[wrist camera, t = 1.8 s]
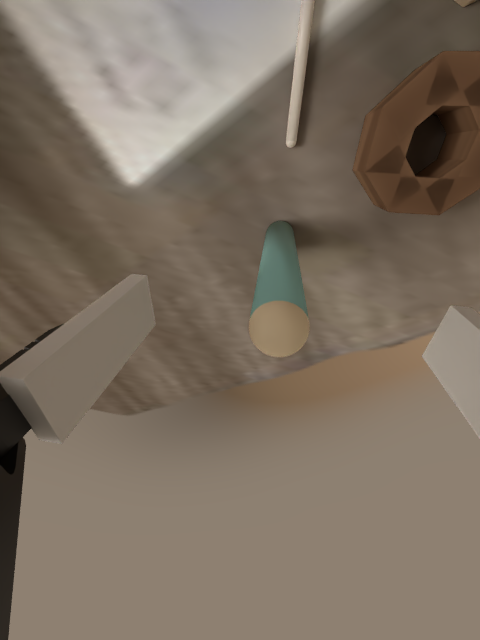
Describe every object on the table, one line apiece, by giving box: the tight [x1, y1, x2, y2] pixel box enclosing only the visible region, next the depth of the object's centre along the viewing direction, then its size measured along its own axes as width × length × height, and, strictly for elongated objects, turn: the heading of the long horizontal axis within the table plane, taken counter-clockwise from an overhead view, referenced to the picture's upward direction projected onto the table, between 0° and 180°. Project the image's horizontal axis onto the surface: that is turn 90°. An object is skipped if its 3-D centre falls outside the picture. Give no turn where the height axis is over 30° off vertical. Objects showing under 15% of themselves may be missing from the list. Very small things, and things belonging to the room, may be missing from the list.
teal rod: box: [249, 221, 310, 357], centre depth 16 cm, size 2×2×16 cm
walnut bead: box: [353, 51, 480, 215], centre depth 17 cm, size 8×8×4 cm
